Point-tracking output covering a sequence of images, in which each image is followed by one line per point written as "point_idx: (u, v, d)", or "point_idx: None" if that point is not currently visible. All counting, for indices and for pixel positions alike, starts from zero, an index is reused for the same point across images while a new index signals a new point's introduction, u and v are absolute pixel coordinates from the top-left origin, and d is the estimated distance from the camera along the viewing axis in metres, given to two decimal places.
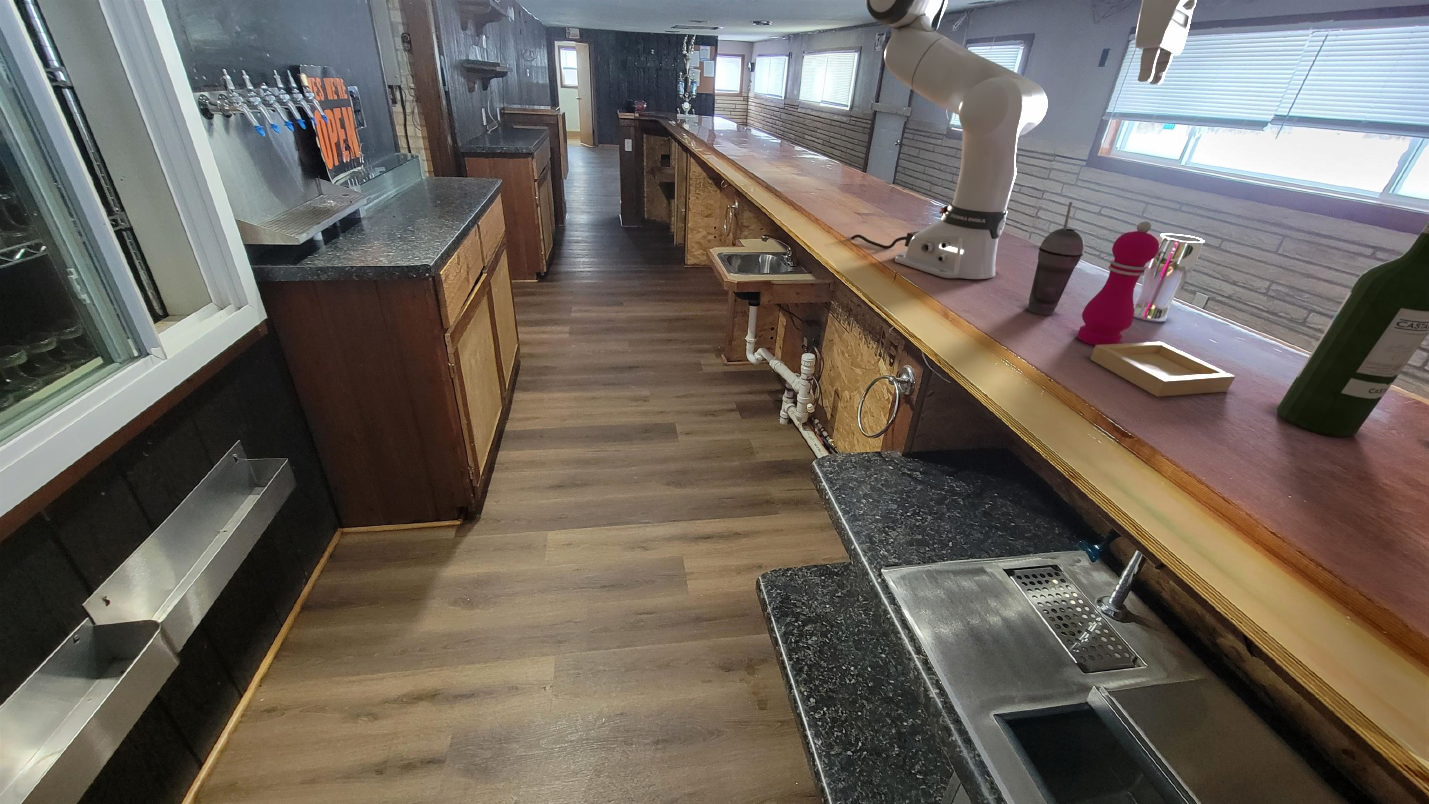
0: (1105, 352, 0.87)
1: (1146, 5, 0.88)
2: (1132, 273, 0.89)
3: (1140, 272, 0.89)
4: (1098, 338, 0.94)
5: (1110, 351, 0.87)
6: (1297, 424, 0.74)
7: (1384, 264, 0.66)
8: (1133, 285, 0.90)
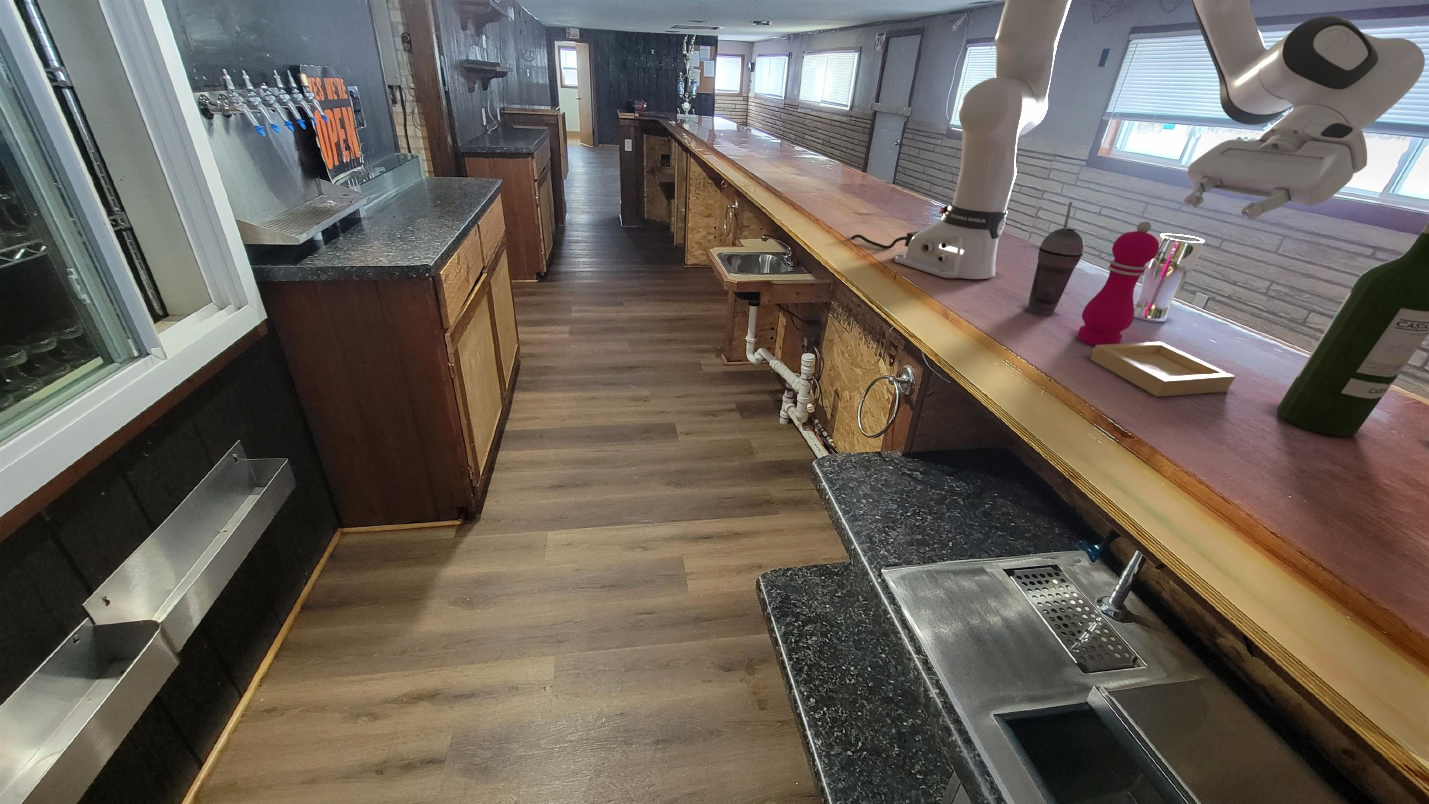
0: (1105, 352, 0.87)
1: (1347, 159, 0.77)
2: (1132, 273, 0.89)
3: (1140, 272, 0.89)
4: (1098, 338, 0.94)
5: (1110, 351, 0.87)
6: (1297, 424, 0.74)
7: (1384, 264, 0.66)
8: (1133, 285, 0.90)
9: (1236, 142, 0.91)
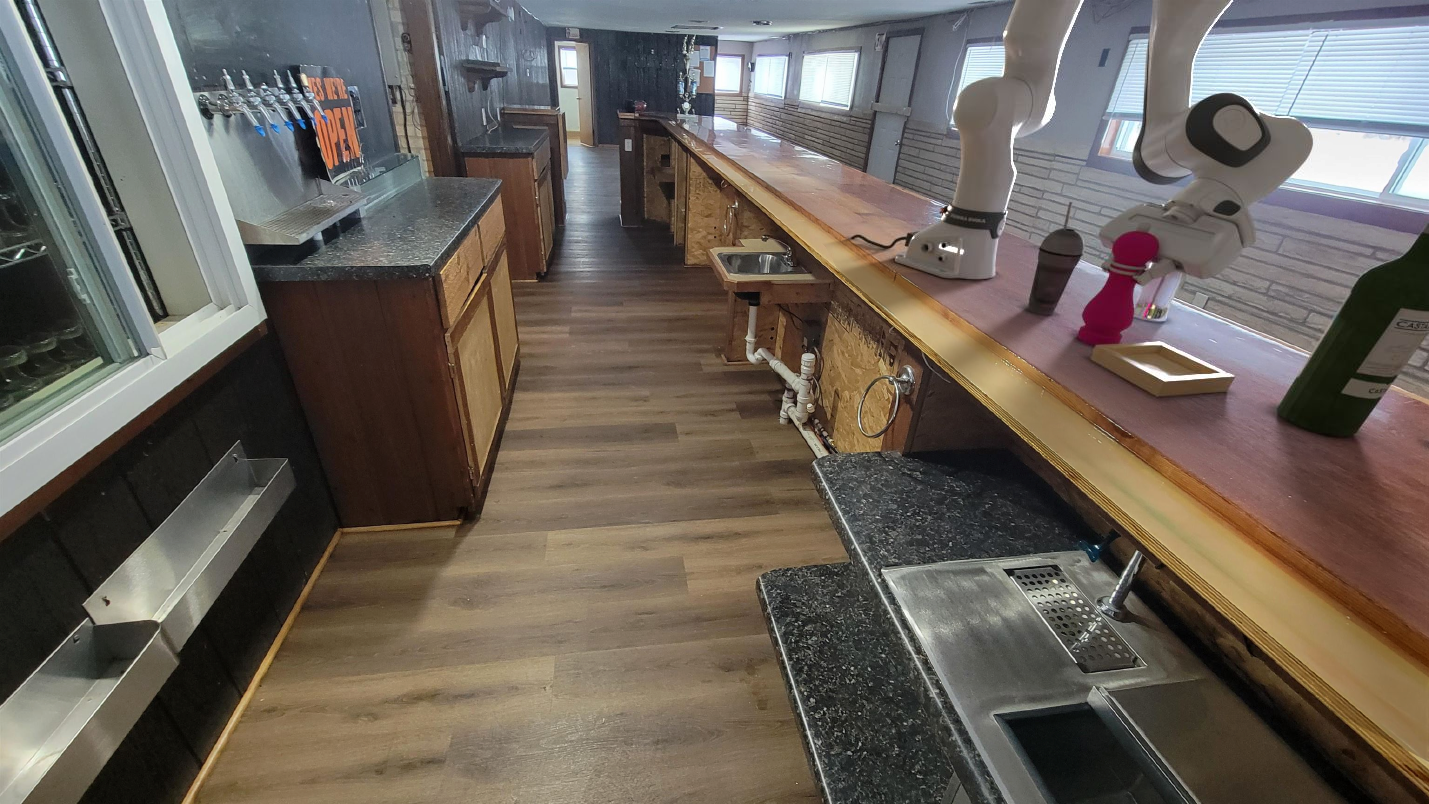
0: (1105, 352, 0.87)
1: (1234, 237, 0.80)
2: (1132, 273, 0.89)
3: None
4: (1098, 338, 0.94)
5: (1110, 351, 0.87)
6: (1297, 424, 0.74)
7: (1384, 264, 0.66)
8: (1133, 285, 0.90)
9: (1143, 208, 0.93)
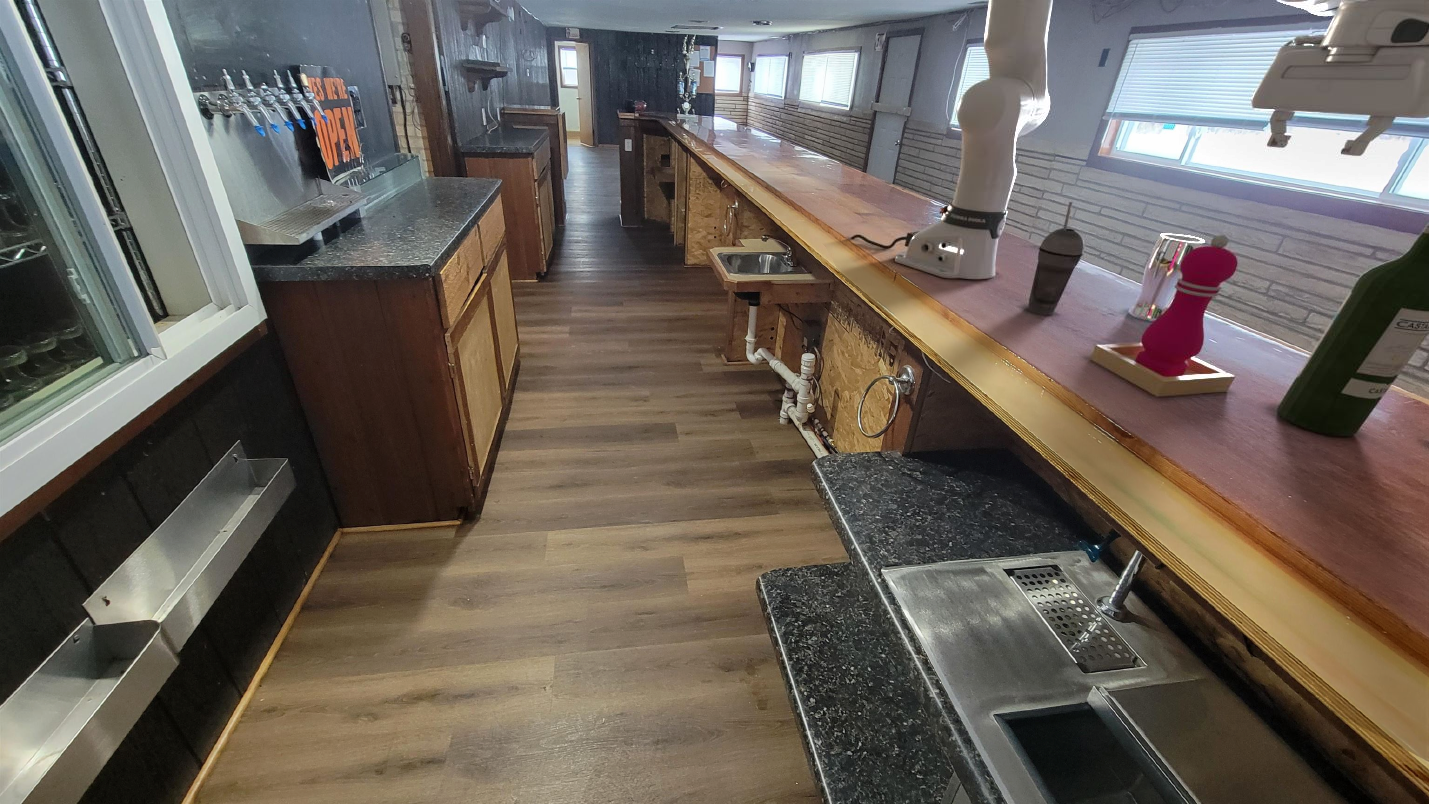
0: (1105, 352, 0.87)
1: None
2: (1205, 294, 0.77)
3: (1214, 293, 0.77)
4: (1161, 367, 0.82)
5: (1110, 351, 0.87)
6: (1297, 424, 0.74)
7: (1384, 264, 0.66)
8: (1205, 307, 0.79)
9: (1293, 57, 0.78)
